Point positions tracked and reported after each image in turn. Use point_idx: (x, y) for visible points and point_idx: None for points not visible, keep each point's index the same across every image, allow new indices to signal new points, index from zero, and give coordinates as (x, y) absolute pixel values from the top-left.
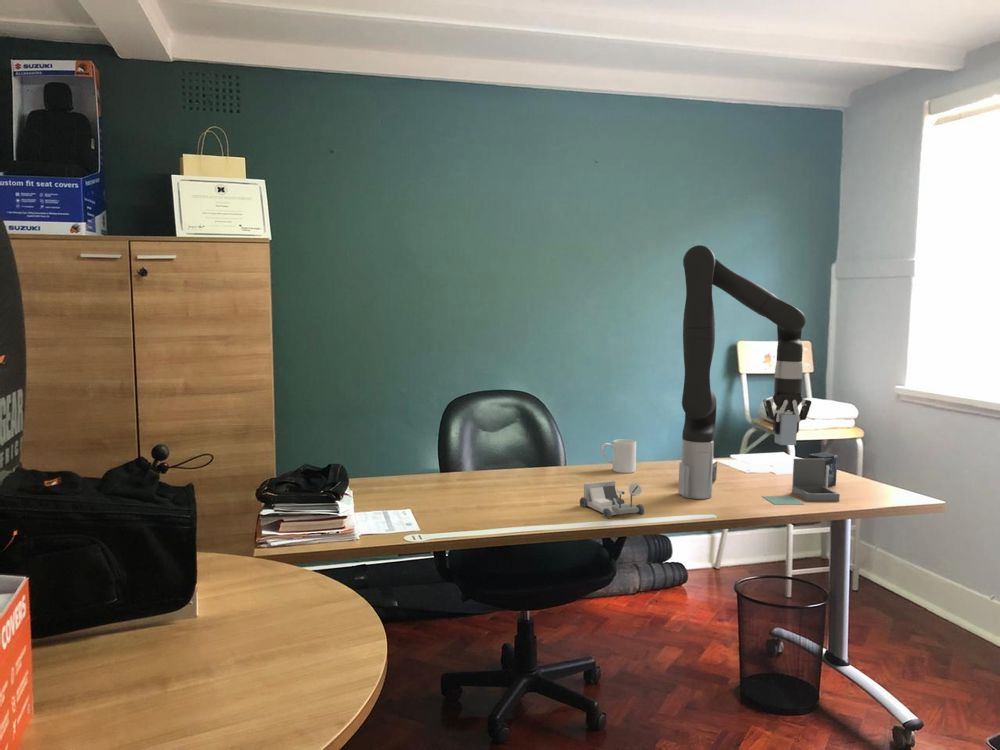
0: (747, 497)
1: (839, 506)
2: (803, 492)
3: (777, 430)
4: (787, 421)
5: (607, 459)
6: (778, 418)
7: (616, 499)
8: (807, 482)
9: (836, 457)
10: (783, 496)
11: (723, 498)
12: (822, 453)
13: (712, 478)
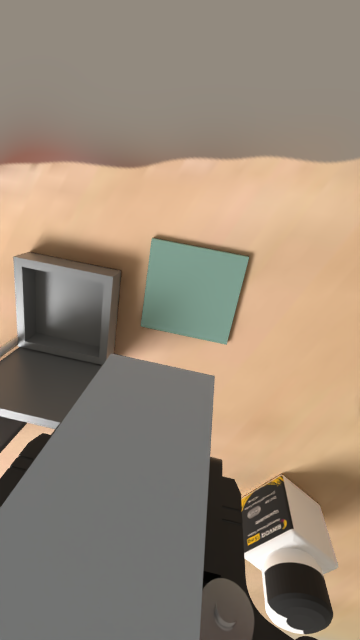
0: (265, 354)
1: (49, 210)
2: (111, 305)
3: (219, 488)
4: (129, 539)
5: None
6: (222, 636)
7: None
8: (60, 364)
9: None
10: (164, 327)
11: (346, 361)
12: None
13: (275, 492)
